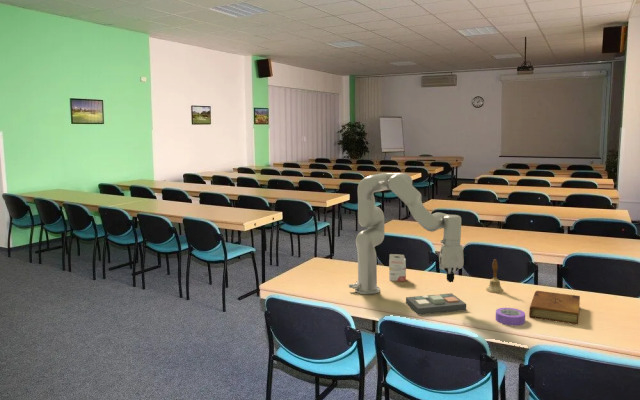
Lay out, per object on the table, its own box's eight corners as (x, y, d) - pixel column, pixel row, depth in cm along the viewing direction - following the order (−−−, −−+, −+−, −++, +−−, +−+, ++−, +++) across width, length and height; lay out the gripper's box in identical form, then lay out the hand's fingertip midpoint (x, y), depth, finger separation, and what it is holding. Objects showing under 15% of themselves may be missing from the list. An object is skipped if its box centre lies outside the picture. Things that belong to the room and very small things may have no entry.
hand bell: (498, 294, 244) (499, 262, 241) (482, 290, 250) (483, 259, 248) (506, 290, 249) (507, 259, 247) (491, 286, 255) (492, 256, 253)
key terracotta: (448, 306, 225) (448, 301, 225) (443, 302, 230) (443, 297, 230) (458, 305, 226) (458, 300, 226) (453, 301, 231) (453, 296, 231)
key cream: (419, 309, 223) (419, 303, 223) (415, 305, 228) (415, 300, 227) (429, 308, 224) (429, 302, 223) (425, 304, 229) (425, 299, 228)
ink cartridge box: (406, 278, 272) (406, 252, 269) (404, 281, 267) (404, 255, 265) (390, 277, 274) (390, 251, 272) (389, 280, 269) (388, 254, 267)
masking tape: (501, 313, 219) (501, 305, 219) (528, 319, 212) (528, 311, 211) (491, 321, 210) (491, 313, 210) (519, 328, 203) (519, 319, 202)
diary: (534, 302, 234) (535, 290, 233) (579, 308, 225) (579, 295, 224) (529, 318, 214) (529, 305, 213) (577, 325, 205) (578, 312, 204)
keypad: (417, 314, 219) (417, 306, 219) (405, 303, 234) (405, 295, 233) (466, 310, 223) (466, 302, 223) (451, 299, 238) (451, 291, 237)
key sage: (433, 305, 224) (433, 299, 224) (429, 301, 229) (429, 296, 228) (444, 304, 225) (444, 298, 224) (439, 300, 230) (439, 295, 229)
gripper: (439, 245, 219) (438, 284, 222) (471, 243, 222) (469, 282, 225) (432, 241, 226) (431, 279, 229) (463, 239, 229) (461, 277, 232)
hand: (450, 281), depth 227 cm, fingers closed
